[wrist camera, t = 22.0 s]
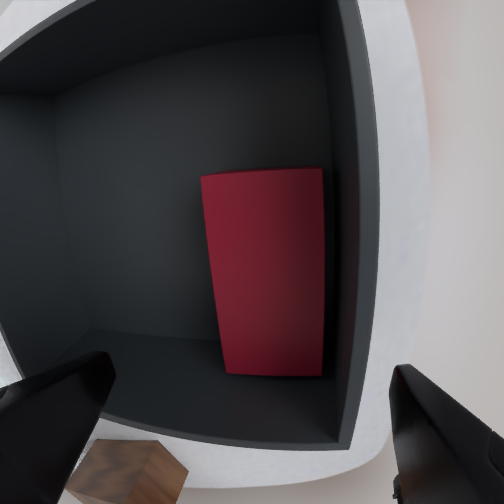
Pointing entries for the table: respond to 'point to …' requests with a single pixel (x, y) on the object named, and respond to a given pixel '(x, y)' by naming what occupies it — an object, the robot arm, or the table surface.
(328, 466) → the table surface
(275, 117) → the storage bin
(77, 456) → the robot arm
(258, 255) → the red rectangular block
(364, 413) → the table surface
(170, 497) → the wooden stand
